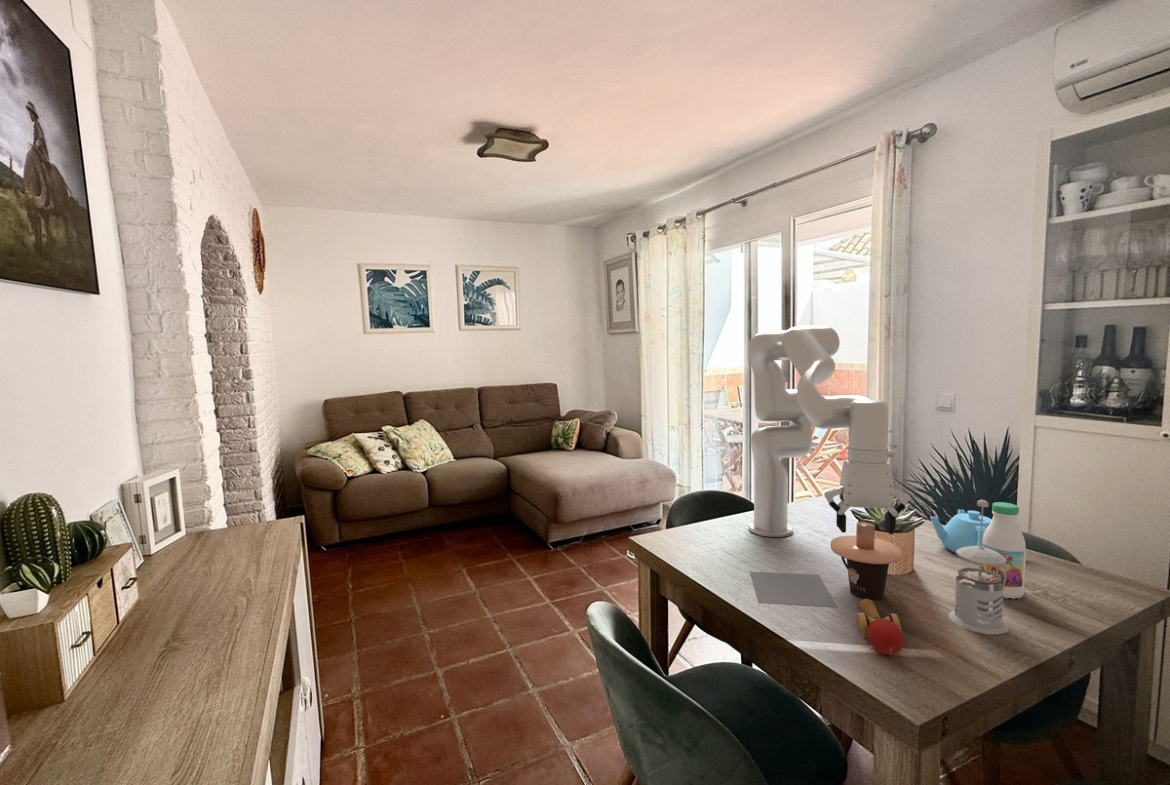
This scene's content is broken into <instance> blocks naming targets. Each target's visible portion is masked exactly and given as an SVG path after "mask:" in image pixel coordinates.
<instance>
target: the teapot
mask: <svg viewBox="0 0 1170 785" xmlns="http://www.w3.org/2000/svg"><path fill="white" fill-rule="evenodd" d="M965 511H966V510H964V509H959V508H958V509H957V514H955V515H953V517H952V518H950V519H949V521H947V523H946V525H945V526H944V527H943V525H942V523H941V522H940V520H939V517H938V516H930V517H929V518H930V521H931V523H932V525H933V528H934V530H935V532H936V535H937V537H938V539H939V540H940V542H941V543H942V545H944V546H945V548H946V549H947V550H948V551H949V552H951V553H953V552H954V553H953V554H955V553H956V550H958V549H960V548H962V547H968V546H980V541H981V516H982V514H981V512H980V511H977V510H967V512H965ZM991 521H992V518H990V517H988V516H985V515H983V525H982V541H983V535H984V533H985V530H986V529H987V527H988V526H989V524H990V523H991ZM1018 526H1019V527H1020V526H1021V525H1020V523H1019V522H1018ZM956 555H957V553H956Z"/></svg>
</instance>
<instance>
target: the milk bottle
mask: <svg viewBox="0 0 1170 785" xmlns="http://www.w3.org/2000/svg"><path fill="white" fill-rule="evenodd" d="M991 510H992V511H991V513H992V518H991V520H992V521H991V523H990V524H989V526H988V527H987V529H986V530H985V533H984V535H983V541H982V547H985V548H989V549H992V550H994V551H996V552H998V553H999V554H1001V555H1002V556H1003V557H1005V558H1006V563H1005V564H1004V565H1005V568H1006V582H1005V585H1004V593H1003V596H1004V598H1003V599H1008V598H1012V599H1011V600H1016V599H1015V598H1018V599H1021V598H1022V597H1023V596H1024V593H1025V577H1026V576H1025V575H1026V557H1027V555H1026V554H1027V553H1026V552H1027V551H1026V549H1027V548H1026V541H1025V537H1024V534H1023V532H1022V531H1021V529H1020V526H1018V523H1019V522H1018V517H1019V513H1020V512H1019V510H1020V508H1019V506H1018V505H1016V504H1013V503H1009V502H1002V501H998V502H992V504H991ZM997 568H998V575H999V576H1000V577H1001V578H1002V582H1001V584H1002V585H1003V583H1004V578H1005V569H1004V566H1003V565H999V566H997ZM982 569H983V570H987V571H989V572H990V571H991V572H992V573H994V574H996V567H994V566H988V565H981V570H982ZM992 586H993V585H990V588H991V587H992ZM991 591H994V587H993V588H992V589H991Z"/></svg>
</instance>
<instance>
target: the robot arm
mask: <svg viewBox="0 0 1170 785" xmlns="http://www.w3.org/2000/svg"><path fill="white" fill-rule="evenodd" d="M839 337H840V336H839V335H838V333H837V331H836V330H835V329H834V328H833V327H831V326H828V325H798V326H793V327H790V328H789V329H786V330H767V331H761V332H758V333H756V334H754V335H753V336H752V338H751V339H750V342H749V346H748V360H749V362H750V363H749V364H750V367H751V368H752V374H753V387H754V388H753V389H754V409H755V410H754V411H755V415H756V417H757V419H758V420H759V421H761V422H767V423H775V422H788V423H789V425H773V426H771V425H770V426H764V427H763V426H762V427H759V428H757V429H755V430H754V431H753V432H752V434H751V436H750V446H751V447H750V448H751V453H752V458H753V480H754V483H753V498H754V499H753V501H754V502H753V508H754V509H753V521H751V522H749V523H748V530H749V531H750V532H752V533H753V534H755V535H759V536H761V537H762V536H763V537H769V538H782V537H787V536H790V535H792V534H793V533H794V531H793V530H794V529H793V526H792V525H790V524H789V523H788V503H789V502H788V499H789V498H788V493H789V492H788V490H789V489H788V488H789V487H788V486H789V485H788V481H789V480H788V479H789V478H788V472H787V469H786V467H785V466H784V465H783V464H782V462H781V459H785V458H786V459H789V458H790V459H791V458H801V457H805V456H807V455H808V454H810V452H811V450H812V446H813V444H812V443H813V430H812V429H813V426H814V427H816V428H817V429H822V430H823V429H825V430H827V429H842V428H843V429H844V428H845V429H848V452H847V453H848V455H847V459H844V460H843V464H842V468H841V473H840V478H839V480H840V481H839V486H837V487H834V488H833V489H830V490H828V491H825V492H824V494H823V496H824V498H825V499H826V501H827V503H828V505H829V506H830V507H831V509H833V510H834V511H835V512H836V524H835V525H836V527H837V528H838V529H839V531H840V532H841V533H843V534H844V533H846V532H847V515H846V514H845V513H846V512H847V511H848V510H849V509H850V508H866V509H867V508H868V509H869V508H870V509H885V510H886V512H885V513H884V530H885V531H886V532H887V533H888V534H890V535H894V530H896V525H897V524H896V523H897V517H898V516H899V514H900V513H901V512H902V511H903V510H905V508H906V506H907V504H908V503H909V501H910V500H911V497H910V496H909V495H908V494H906V493H904V492H902V491H900V490H898V489H896V488H894V480H893V473H892V467H891V466H892V465H891V463H890V462H889V458H894V457H895V452H894V450H890V449H888V436H889V434H888V433H889V430H888V429H889V405H888V403H887V402H886V401H885V400H882V399H877V398H876V399H873V398H869V397H866V396H864V395H860V394H858V395H857V394H851V395H850V394H849V395H848V394H847V395H845V394H843V395H841V394H840V395H822V394H821V393H820V392H819V390H818V389H817V388H816V387H817V386H819V385H821V384H823V383H824V382H825V381H827V380H828V379H829V378H830V377H832V375H833V374H834V372H835V370H836V363H835V360H834V359H833V358H832V357H833V356H834V355H835V354H836V353H837V352H838V350H839V348H840V338H839ZM776 361H791V364H792V365H793V366H794V368H795V370H796V372H797V373H798V375H799V376H800V378H799V380H798V383H797V389H796V388H795V389H794V388H790V389H787V388H786V387H785V374H784V372H783V370H782V368H781V367H780V365H779V364H778V363H777V362H776ZM837 496H838V497H839V500H840V501H839V502H838V503H836V502H835V500H834V498H835V497H837ZM894 496H895V497H897V498H899V499H898V502H896V503H895V504H894V498H895V497H894Z"/></svg>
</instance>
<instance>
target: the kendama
mask: <svg viewBox="0 0 1170 785" xmlns="http://www.w3.org/2000/svg"><path fill="white" fill-rule="evenodd" d="M859 609H860V610H861V611H862V612H857V613H856V620H857V621H856V622H857V625H858V628H859V629H860V630H861V637H862V639H867V641H868V643H869V644H870V646H871V647H872V648H873V649H874V650H876V651H877V652H878V653H881V654H882V655H887V656H893V655H896V654H898V653H900V652H901V650H902V649H903V648H904V645H905V636H904V633H903V631H902V626H901V623H900V619H899V617H898V614H896V613H889V615H887V616H886V617H883V618H881V616H880V613H879V612H878V610H877V607H876V605H875V603H874V602H873V600H869V599H862V600H860V602H859Z"/></svg>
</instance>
